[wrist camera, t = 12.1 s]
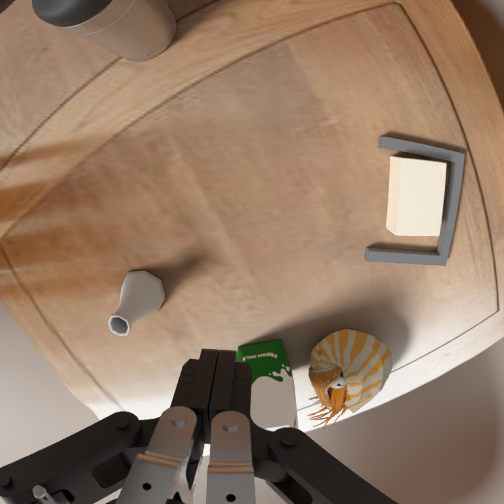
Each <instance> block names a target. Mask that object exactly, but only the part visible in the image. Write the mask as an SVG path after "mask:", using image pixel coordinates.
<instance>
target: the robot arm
mask: <svg viewBox="0 0 504 504" xmlns="http://www.w3.org/2000/svg"><path fill="white" fill-rule="evenodd" d="M14 1H15V0H0V14H1V13H2V12H3V11H4V10H5V9H6V8H7V7H9V6H10V5H11V4H12V3H13V2H14ZM32 6H33V10H34V12H35V13H36V15H37V16H38V17H39V18H40V19H42V20H43V21H45V22H47V23H50V24H52V25H54V26H57V27H59V28H61V29H64V30H66V31H68V32H71V33H73V34H75V35H78V36H80V37H82V38H84V39H86V40H88V41H91V42H93V43H95V44H97V45H99V46H101V47H103V48H105V49H107V50H109V51H111V52H113V53H115V54H117V55H119V56H121V57H122V58H125V59H127V60H130V61H145V60H149V59H151V58H154V57H156V56H157V55H159V54H161V53H162V52H163V51H164V50H165V49H166V48H167V47H168V46H169V45H170V43H171V42H172V40H173V38H174V36H175V33H176V27H177V24H176V19H175V16H174V14H173V13H172V12H171V10H170V9H169V2H168V1H167V0H32ZM251 388H252V369H251V368H250V366H249V364H248V363H246V362H237V352H236V351H233V350H220V351H219V350H215V349H202V351H201V355H200V358H199V360H197V359H189V360H188V361H187V362H186V363H185V364H184V365H183V367H182V371H181V374H180V377H179V380H178V383H177V387H176V390H175V393H174V396H173V400H172V403H171V406H170V408H168V409H167V410H165V411H164V412H163V413H162V415H161V417H158V418H155V419H148V420H139V419H138V418H137V416H135V415H134V414H132V413H130V412H125V411H121V412H116V413H114V414H112V415H110V416H108V417H106V418H104V419H102V420H100V421H98V422H96V423H94V424H93V425H91V426H89V427H87V428H85V429H83V430H81V431H79V432H77V433H75V434H73V435H71V436H69V437H67V438H65V439H63V440H61V441H59V442H57V443H54V444H52V445H51V446H48V447H46V448H44V449H42V450H39V451H37V452H35V453H33V454H31V455H29V456H26V457H24V458H22V459H20V460H18V461H15V462H13V463H10V464H8V465H6V466H3V467H1V468H0V497H1V498H2V499H3V500H4V501H5V503H6V504H93V503H95V502H97V501H99V500H101V499H103V498H104V497H106V496H108V495H109V494H112V493H113V492H115V491H117V490H118V489H120V488H122V487H123V488H122V490H121V492H120V495H119V497H118V498H117V499H114V500H112V501H110V502H108V503H106V504H193V493H194V489H195V485H196V481H197V477H198V474H199V470H200V466H201V462H202V459H203V456H202V454H203V449H204V444H210V463H209V465H208V471H207V491H206V504H256V499H255V483H254V476H255V477H258V478H261V479H264V480H265V481H266V483H267V484H268V485H269V486H270V487H271V488H272V489H273V490H274V491H275V492H276V493H277V494H278V495H279V496H280V497H281V498H282V499H283V500H284V501H286V503H287V504H398V503H397V502H395V501H394V500H392V499H391V498H389V497H388V496H386V495H385V494H383V493H382V492H380V491H379V490H378V489H376V488H375V487H373V486H372V485H371V484H369V483H368V482H366V481H365V480H364V479H362V478H361V477H359V476H358V475H357V474H355V473H354V472H353V471H351V470H350V469H349V468H347V467H346V466H345V465H343V464H342V463H341V462H340V461H338V460H337V459H336V458H334V457H333V456H332V455H331V454H329V453H328V452H327V451H325V450H324V449H323V448H322V447H321V446H319V445H318V444H317V443H316V442H314V441H313V440H312V439H311V438H310V437H308V436H307V435H306V434H305V433H304V432H302V431H301V430H299V429H297V428H293V427H283V428H279V429H277V430H275V431H274V432H273V431H270V430H266V429H263V428H261V427H259V426H258V425H256V424H255V423H254V422H253V420H252V418H251V415H250V411H251Z"/></svg>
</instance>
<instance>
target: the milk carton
mask: <svg viewBox="0 0 504 504" xmlns="http://www.w3.org/2000/svg"><path fill="white" fill-rule="evenodd" d="M237 362H246V363H248V364H249V366H250V368H251V369H252V388H251V411H250V415H251V418H252V420H253V422H254V423H255V424H256V425H258V426H259V427H261V428H263V429H266V430H270V431H273V432H274V431H275V430H277V429H279V428H283V427H293V428H297V429H298V419H297V408H296V398H295V388H294V381H293V375H292V371H291V367H290V364H289V361H288V358H287V355H286V352H285V350H284V347H283V343H282V340H281V339H280V340H275V341H269V342H263V343H258V344H252V345H246V346H240V347H238V352H237Z"/></svg>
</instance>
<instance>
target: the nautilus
mask: <svg viewBox="0 0 504 504" xmlns="http://www.w3.org/2000/svg"><path fill="white" fill-rule="evenodd" d="M309 363H310V368H309V378H310V381H311V384H312V386H313V387H314V389H315V392H316V394H317V395H318V397H319V399H320V400H319V401H320V402H321V403H322V406H323V405H324V406H326V407H325V408H323V409H321V410H320V411H318V412H316V413H319V412H321V411H324V410H325V409H329V408H327V407H332V409H330V411H329V412H327V413H324V414H321V415H323V416H325V415H327V414H328V413H330V412H332V410H333V413H331V415H330V417H326V418H321V417H323V416H321V415H318V416H321V417H318V416H315V417H318V418H321V419H327V420H328V421H329V420H330V419H331V418H332V417H334V416H335V415H336V414H337V413H338V412H339V411H341V410H342V408H343V407H344V409H343V411H342V414H343V413H344V412H345V410H346V409H347V408H348V409H350V410H351V411H352V412H353V413H355V412H356V411H357V410H359V409H360V408H361V407H363V406H364V405H365V404H366V403H368V402H369V401H370V400H372V399H373V397H374V396H375V395H376V394H377V393H379V392H380V391H381V390H382V388H383V386H384V384H385V382H386V380H387V379H388V377H389V374H390V372H391V370H392V358H391V353H390V351H389V349H388V348H387V346H386V345H385V344H384V343H383V342H382V341H380V340H378V339H377V338H375V337H374V336H372V335H370V334H367V333H364V332H360V331H355V330H350V329H343V330H340V331H337V332H334V333H332V334H330V335H328V336H327V337H325V338H324V339H323V340H321V341H320V342H319V343H318V344H317V345H316V346H315V347H314V348H313V350H312V352H311V355H310V359H309ZM318 397H316V398H318ZM312 399H315V398H312ZM309 400H311V399H309ZM317 402H318V401H317ZM315 403H316V402H315ZM333 405H334V406H333ZM316 413H313V414H310V415H314V414H316ZM332 414H333V415H332ZM342 414H341V415H342ZM341 415H339V416H341ZM307 416H309V415H307ZM339 416H338V417H339ZM338 417H337V418H338ZM311 418H314V417H311ZM309 419H310V418H309ZM321 419H317V418H314V419H311V420H321ZM327 420H325V421H324V422H326V421H327ZM336 420H337V419H336ZM336 420H335V421H336ZM328 421H327V422H328ZM324 422H322V423H324ZM327 422H326V424H327ZM322 423H321V424H322ZM334 423H335V422H334ZM321 424H318V425H321ZM326 424H325V426H326ZM318 425H316V426H318ZM325 426H324V428H325ZM313 427H315V426H313ZM324 428H323V429H324Z"/></svg>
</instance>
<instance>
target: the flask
mask: <svg viewBox="0 0 504 504" xmlns="http://www.w3.org/2000/svg"><path fill="white" fill-rule="evenodd" d="M165 298H166V297H165V293H164V289H163V285H162V280H160V279H159V278H157V277H155V276H153V275H152V274H150V273H148V272H147V271H145V270H144V271H131V272H128V273H127V275H126V277H125V280H124V282H123V284H122V288H121V297H120V303H119V308H118V310H117V312H116V313H115V314H111V316H110V318H109V321H108V324H109V327H110V330H111V331H112V332H114V333H116V334H117V335H119V336H128V334H129V332H130V329H131V326H132V325H133V324H134V323H135V322H136V321H137V320H139V319H142V318H144V317H146V316H148V315H150V314H153V313H155V312H158V311H159V309H160V307H161V305H162V303H163V301H164V299H165Z"/></svg>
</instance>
